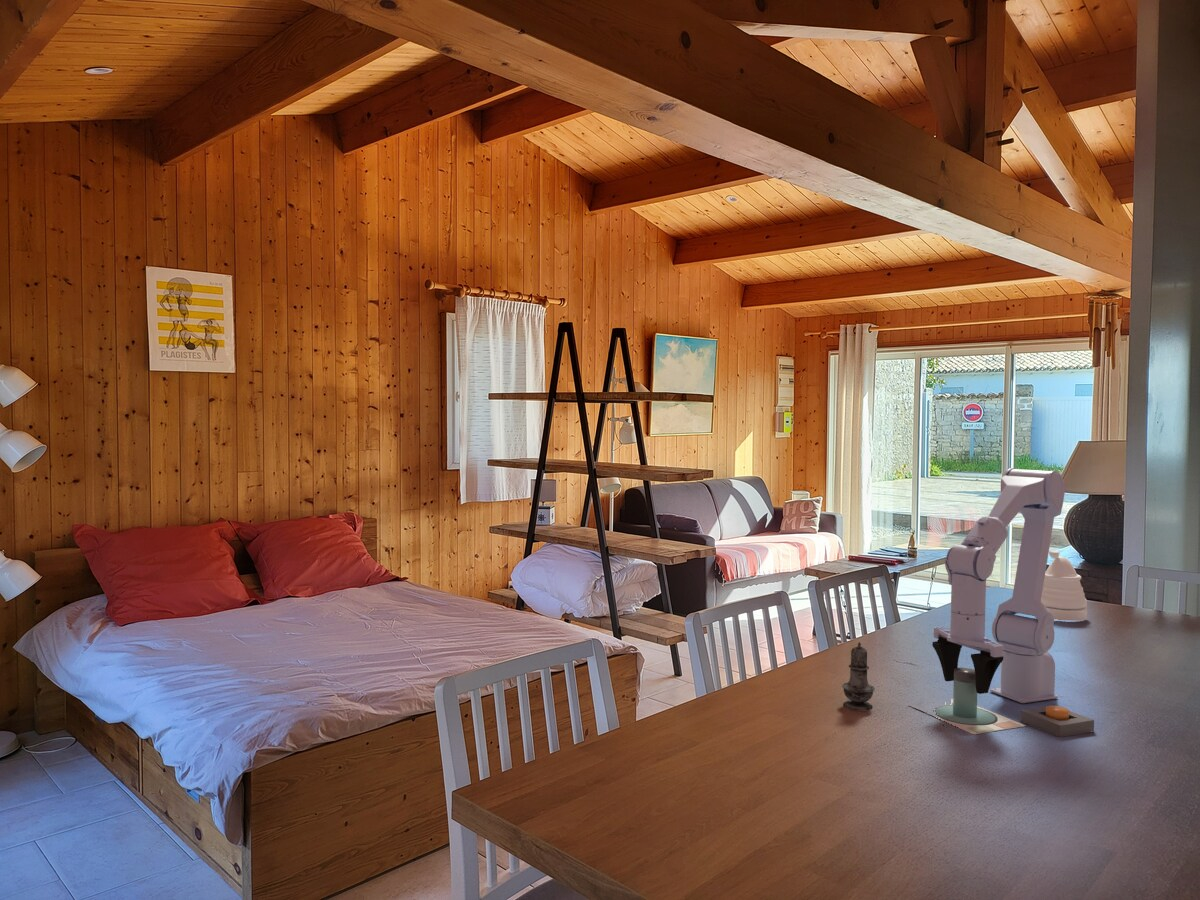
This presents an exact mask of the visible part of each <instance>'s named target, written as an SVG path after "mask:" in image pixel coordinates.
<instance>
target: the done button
mask: <svg viewBox="0 0 1200 900" xmlns="http://www.w3.org/2000/svg"><path fill="white" fill-rule="evenodd" d="M1045 707H1046V716H1048V717H1050V718H1053V719H1056V720H1058V721H1061V720H1067V719H1069V711H1070V709H1068V708H1066V707H1063V706H1059V705H1047V706H1045Z"/></svg>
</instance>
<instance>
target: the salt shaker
mask: <svg viewBox="0 0 1200 900" xmlns="http://www.w3.org/2000/svg"><path fill="white" fill-rule="evenodd" d="M861 645H862V644H861V642H860V641H858V643H857V645H856V646H854V647H853V648H851V651H850V664H848V668H850V672H849V680H848V682H845V683H844V682H843V684H842V685H841V687H842V689H843V693H844V696H845V697H846V698H847V700H846V701H844V702H843V707H845V708H846V709H849V710H852V711H858V710H861V711H862V710H863V711H864V710H867V711H871V710H872V709H873V707H874V706H873V704H871V703H870V702H868V701H870V700H871V699H872V697H873V695H874V692H875V689H876V688H875V687H874V686H873V685H872V684H870V683H869V681H868V670H869V669H870V666H868V651H867V649H866V648H864V647H863V646H861ZM870 709H871V710H870ZM861 711H860V712H861ZM863 711H862V712H863Z"/></svg>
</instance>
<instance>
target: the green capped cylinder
mask: <svg viewBox="0 0 1200 900" xmlns="http://www.w3.org/2000/svg"><path fill="white" fill-rule="evenodd" d="M952 694H953V697H952V699H953V714H954V715H955V716H958V717H962V718H976V717H977V706H978V693H977V692H976V681H975V669H973V668H969V667H968V668H967V667H958V668H955V669H954V681H953V693H952Z"/></svg>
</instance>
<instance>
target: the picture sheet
mask: <svg viewBox="0 0 1200 900" xmlns="http://www.w3.org/2000/svg"><path fill="white" fill-rule="evenodd" d="M950 699H951V704H950V705H946V702H945V705H943V706H941V707H940V706H938V708H937V707H936V708H935V709H936V710H935V712H936V714H935V715H937V714H938V715H937V716H938V717H939V718H938V720H939V719H940V718H941V720H940V721H942V722H944V721H945V722H944V723H946V722H947V723H946V724H948V723H949V725H951V724H952V725H951V726H953V727H955V726H956V727H955V728H957V727H958V728H957V729H960V730H963V732H964V731H965V732H966V733H968V734H971V735H979V734H986V733H991V732H998V731H1004V730H1010V729H1017V728H1022V727H1027V724H1025V723H1024V724H1023V723H1022V722H1018V721H1016V720H1013V719H1011V718H1008V717H1006V716H1004V715H1001V714H999V713H996V712H994V711H991V710H988V709H986V708H983V707H982V706H981V707H980V706H978V705H977V717H976V718H962V717H958V716H955V715H954V714H953V705H952V703H953V698H950ZM939 708H940V709H939ZM933 712H934V709H933ZM935 719H937V717H936V718H935ZM942 719H943V720H942Z"/></svg>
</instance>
